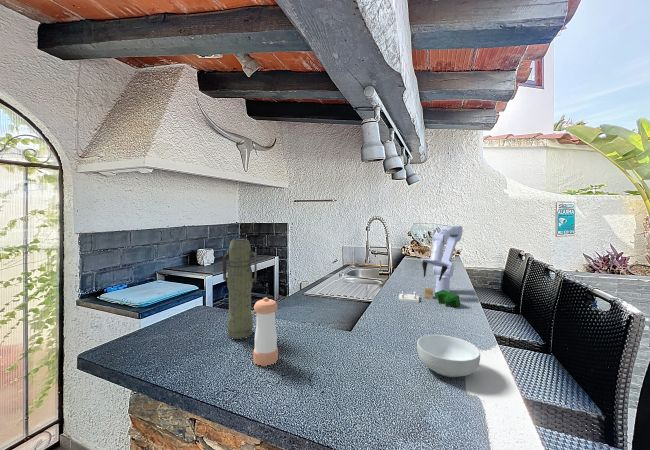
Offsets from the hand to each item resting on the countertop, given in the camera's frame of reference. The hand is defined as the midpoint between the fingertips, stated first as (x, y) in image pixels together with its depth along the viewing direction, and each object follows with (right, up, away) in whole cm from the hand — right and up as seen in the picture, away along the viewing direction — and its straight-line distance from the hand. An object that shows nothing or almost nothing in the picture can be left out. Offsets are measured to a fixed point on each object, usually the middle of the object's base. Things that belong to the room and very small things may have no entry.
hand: (432, 278), depth 154 cm
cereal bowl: (-20, -14, -69) cm, 73 cm away
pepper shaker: (-73, -14, -64) cm, 98 cm away
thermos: (-86, -13, -45) cm, 98 cm away
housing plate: (-11, -11, +2) cm, 16 cm away
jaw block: (0, -11, +5) cm, 12 cm away
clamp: (+5, -12, -7) cm, 15 cm away
